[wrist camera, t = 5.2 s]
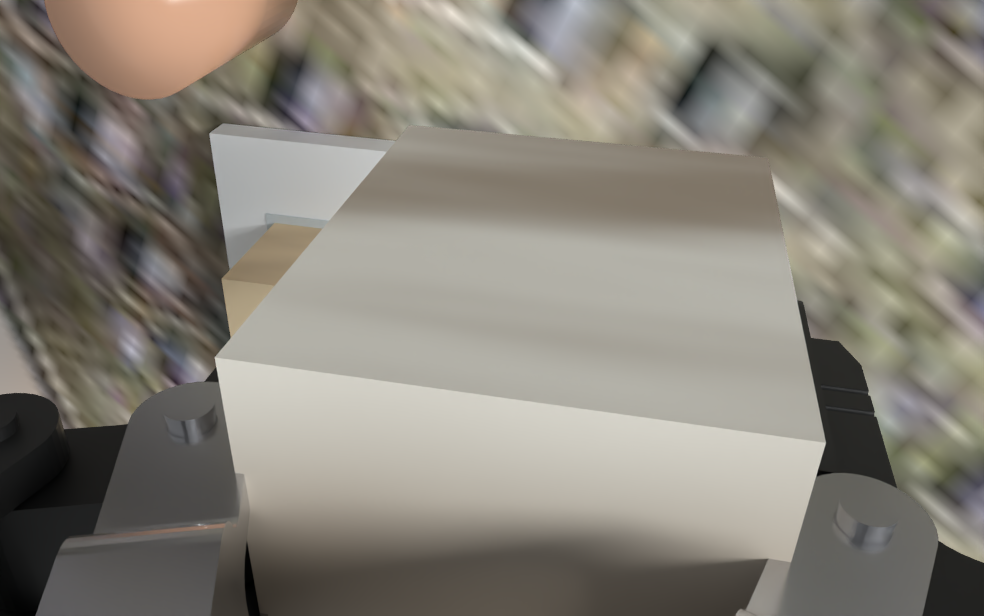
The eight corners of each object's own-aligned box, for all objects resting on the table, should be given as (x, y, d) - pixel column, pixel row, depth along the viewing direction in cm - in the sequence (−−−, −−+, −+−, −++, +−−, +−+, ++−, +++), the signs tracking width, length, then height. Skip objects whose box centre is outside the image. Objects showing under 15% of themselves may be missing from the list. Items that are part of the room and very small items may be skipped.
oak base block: (274, 223, 30) (221, 278, 26) (502, 250, 28) (477, 312, 25) (295, 406, 34) (251, 474, 31) (494, 436, 33) (472, 511, 29)
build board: (222, 123, 29) (208, 134, 28) (573, 158, 27) (569, 171, 27) (267, 439, 37) (256, 456, 36) (546, 484, 35) (542, 502, 34)
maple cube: (409, 124, 12) (214, 357, 7) (768, 157, 12) (826, 443, 7) (416, 402, 15) (277, 713, 10) (710, 444, 14) (720, 805, 9)
